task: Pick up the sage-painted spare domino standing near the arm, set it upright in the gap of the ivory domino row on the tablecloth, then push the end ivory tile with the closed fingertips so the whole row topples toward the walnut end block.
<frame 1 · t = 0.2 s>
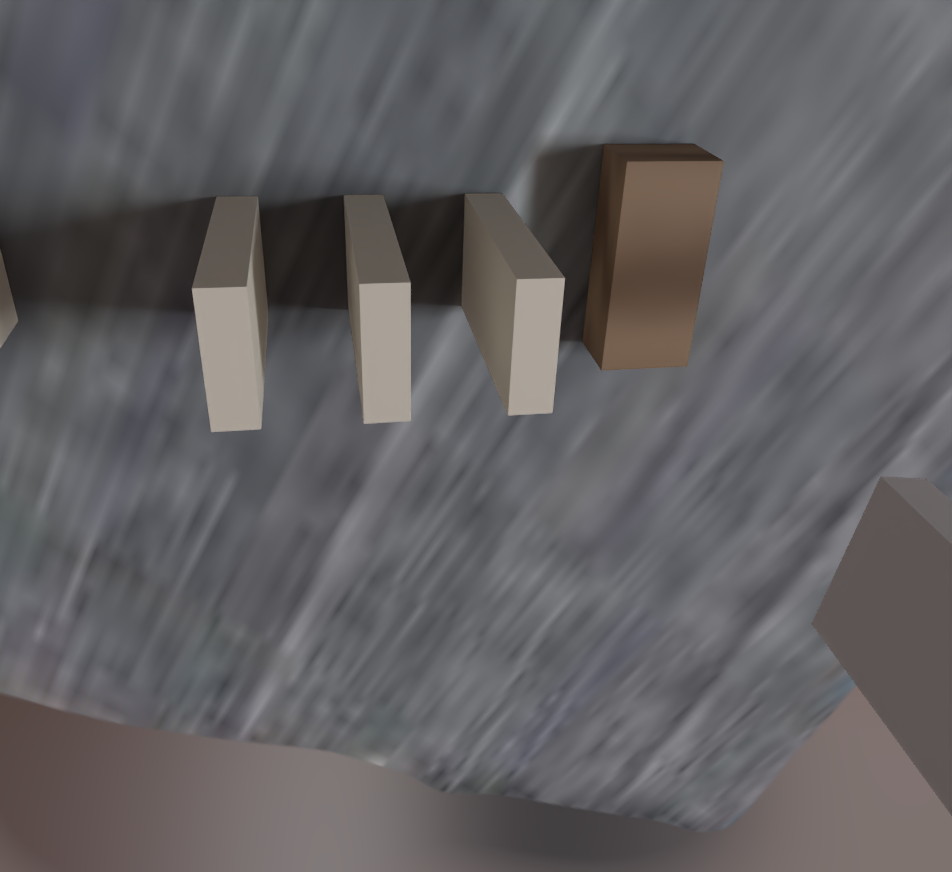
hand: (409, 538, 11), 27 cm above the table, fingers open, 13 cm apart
domino 5: (481, 251, 38), on the table
domino 4: (365, 253, 37), on the table
end block: (635, 247, 39), on the table
domino 3: (243, 256, 36), on the table
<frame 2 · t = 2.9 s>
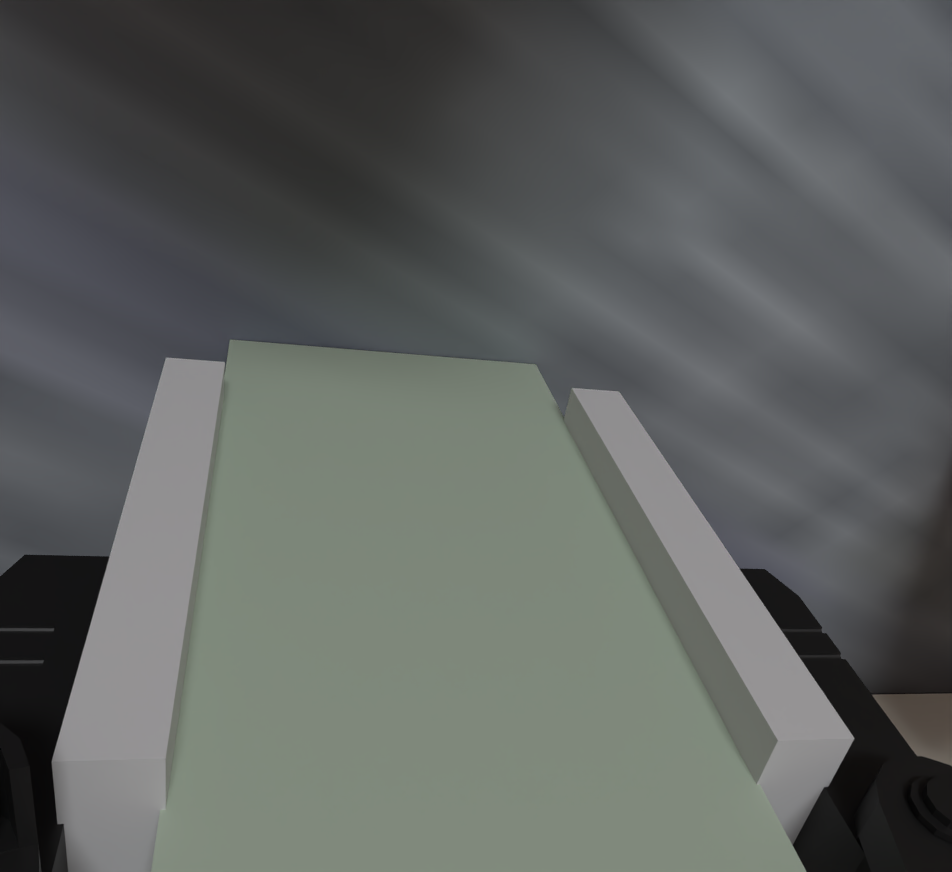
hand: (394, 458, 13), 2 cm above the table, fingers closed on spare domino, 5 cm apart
spare domino: (383, 395, 15), on the table, touching gripper
domino 2: (903, 716, 22), on the table
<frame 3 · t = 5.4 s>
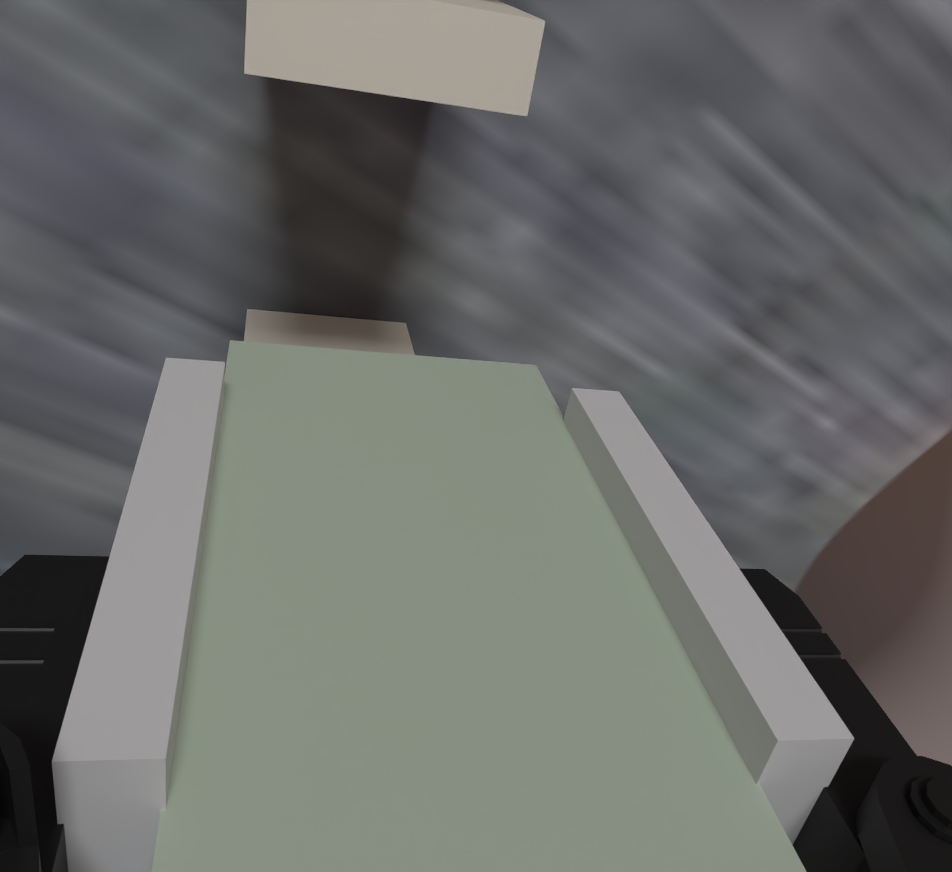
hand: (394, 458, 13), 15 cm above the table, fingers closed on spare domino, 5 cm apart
spare domino: (383, 396, 15), point 13 cm above the table, touching gripper
domino 2: (326, 339, 28), on the table
when the fingers open (3 cm above the table, at t = 7.8 s): spare domino stays where it is, on the table.
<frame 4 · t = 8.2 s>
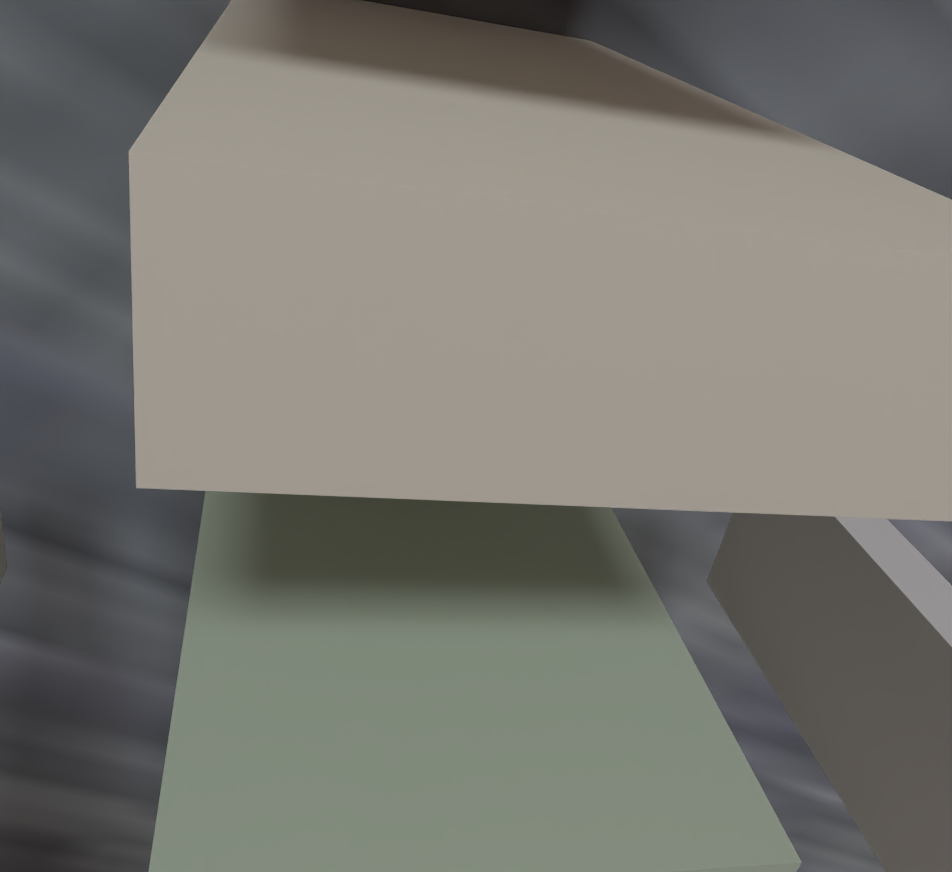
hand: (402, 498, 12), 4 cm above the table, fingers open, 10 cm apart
spare domino: (377, 374, 15), on the table
domino 3: (418, 70, 13), on the table
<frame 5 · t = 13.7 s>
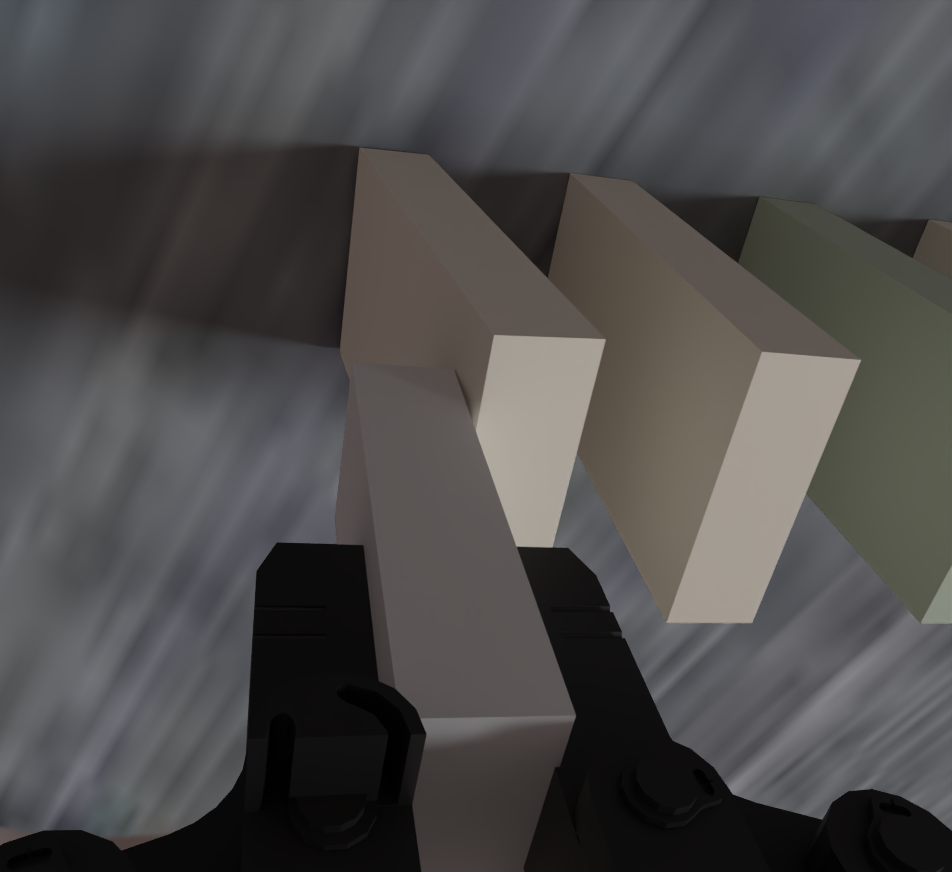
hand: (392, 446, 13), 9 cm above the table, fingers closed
spare domino: (756, 293, 23), on the table
domino 1: (382, 257, 21), on the table, tilted 6°
domino 2: (578, 276, 22), on the table
domino 3: (916, 310, 24), on the table
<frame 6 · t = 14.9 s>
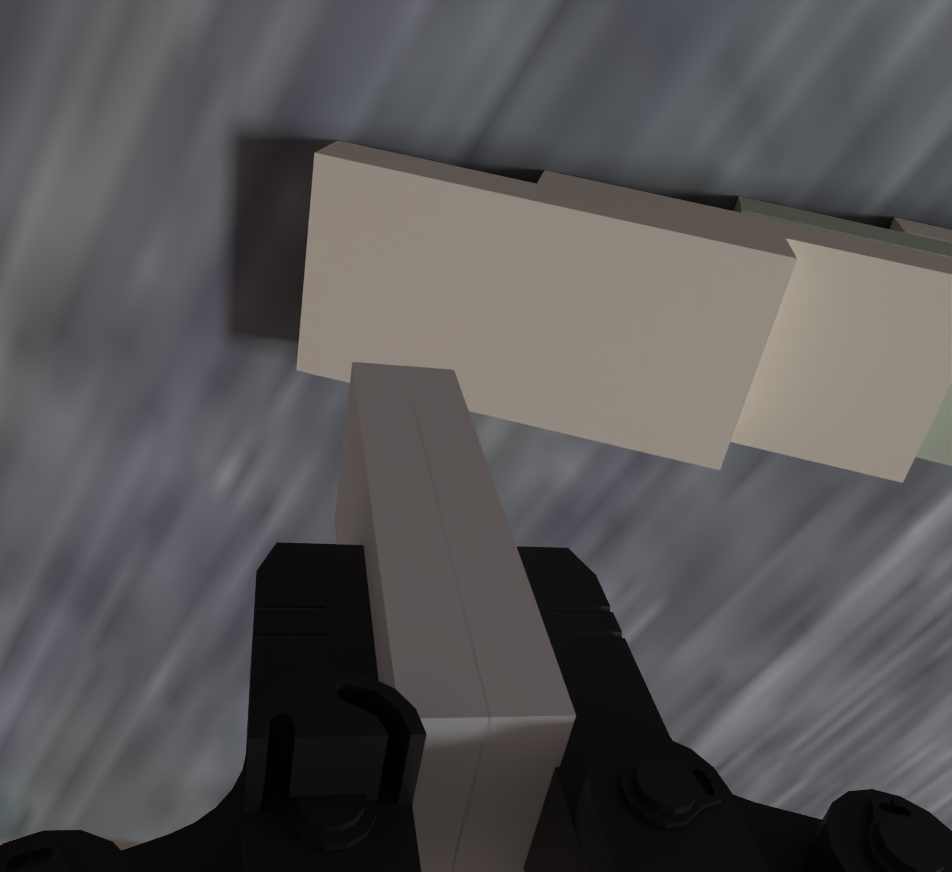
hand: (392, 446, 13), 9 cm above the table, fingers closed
spare domino: (709, 299, 22), point 1 cm above the table, tilted 67°, touching domino 2, domino 3
domino 1: (316, 258, 20), point 1 cm above the table, tilted 70°, touching domino 2
domino 2: (519, 280, 21), point 1 cm above the table, tilted 69°, touching domino 1, spare domino
domino 3: (861, 315, 23), point 1 cm above the table, tilted 65°, touching domino 4, spare domino
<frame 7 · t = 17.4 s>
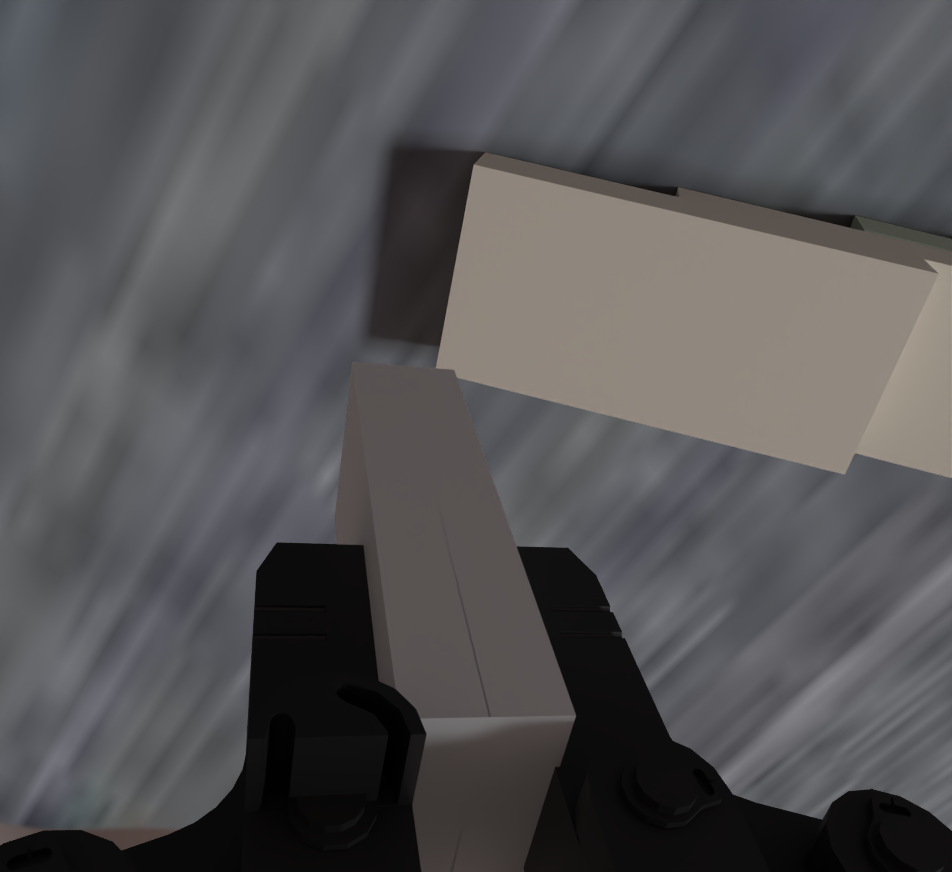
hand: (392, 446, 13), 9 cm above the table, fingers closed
spare domino: (822, 314, 23), point 1 cm above the table, tilted 66°, touching domino 2, domino 3
domino 1: (459, 264, 21), point 1 cm above the table, tilted 70°, touching domino 2
domino 2: (648, 292, 22), point 1 cm above the table, tilted 69°, touching domino 1, spare domino
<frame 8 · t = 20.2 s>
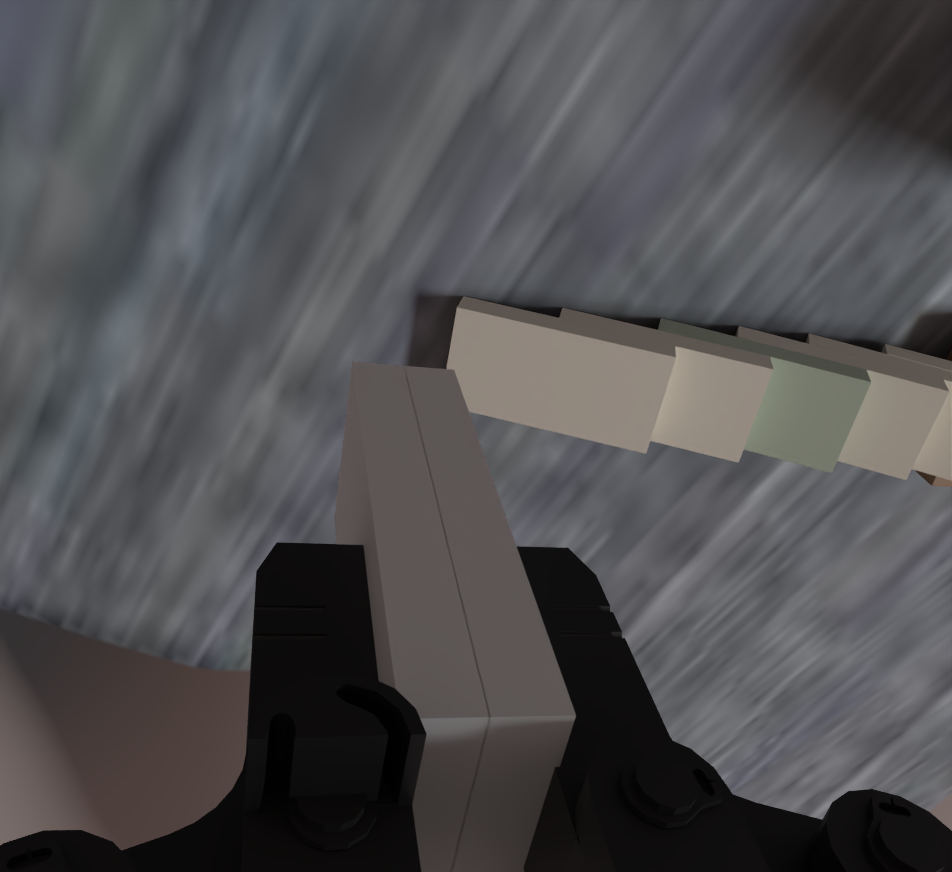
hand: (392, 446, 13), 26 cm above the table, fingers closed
spare domino: (646, 369, 44), point 1 cm above the table, tilted 65°, touching domino 2, domino 3
domino 5: (867, 391, 46), point 1 cm above the table, tilted 61°, touching domino 4, end block
domino 1: (451, 351, 41), point 1 cm above the table, tilted 69°, touching domino 2
domino 2: (549, 360, 42), point 1 cm above the table, tilted 69°, touching domino 1, spare domino
domino 4: (792, 381, 46), point 1 cm above the table, tilted 61°, touching domino 3, domino 5
domino 3: (723, 375, 45), point 1 cm above the table, tilted 63°, touching domino 4, spare domino
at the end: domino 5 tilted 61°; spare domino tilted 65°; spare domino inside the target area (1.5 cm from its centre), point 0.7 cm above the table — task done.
